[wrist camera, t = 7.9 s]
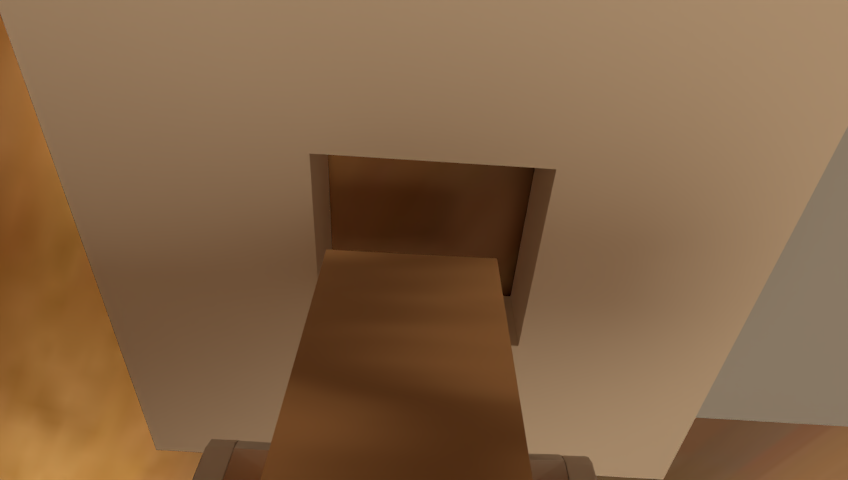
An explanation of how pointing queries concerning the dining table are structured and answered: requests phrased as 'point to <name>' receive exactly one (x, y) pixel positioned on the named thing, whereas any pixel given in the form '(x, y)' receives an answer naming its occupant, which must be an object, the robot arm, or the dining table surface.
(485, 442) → the oak block
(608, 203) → the beige board with hole
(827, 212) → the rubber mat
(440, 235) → the dining table surface
